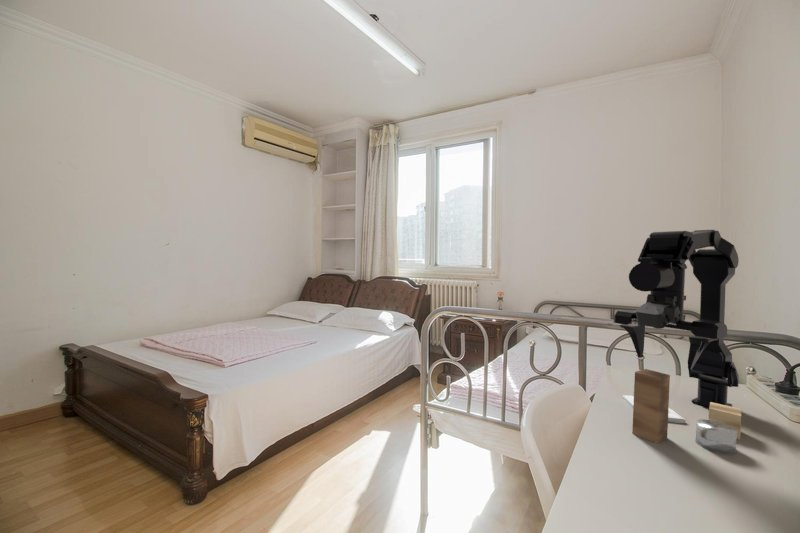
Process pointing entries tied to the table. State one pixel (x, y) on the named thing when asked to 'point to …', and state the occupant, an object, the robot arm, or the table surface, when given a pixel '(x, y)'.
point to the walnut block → (651, 405)
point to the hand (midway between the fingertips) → (663, 362)
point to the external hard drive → (671, 414)
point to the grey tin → (716, 437)
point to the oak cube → (726, 416)
